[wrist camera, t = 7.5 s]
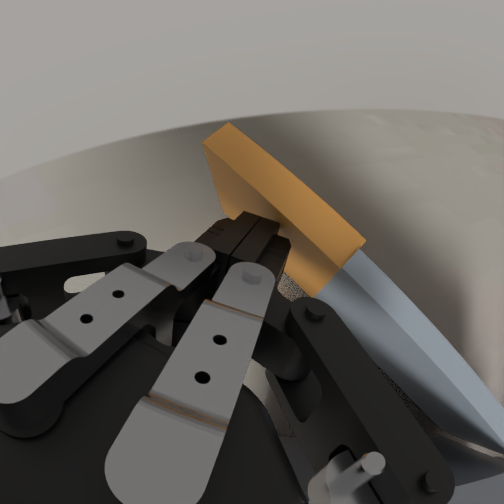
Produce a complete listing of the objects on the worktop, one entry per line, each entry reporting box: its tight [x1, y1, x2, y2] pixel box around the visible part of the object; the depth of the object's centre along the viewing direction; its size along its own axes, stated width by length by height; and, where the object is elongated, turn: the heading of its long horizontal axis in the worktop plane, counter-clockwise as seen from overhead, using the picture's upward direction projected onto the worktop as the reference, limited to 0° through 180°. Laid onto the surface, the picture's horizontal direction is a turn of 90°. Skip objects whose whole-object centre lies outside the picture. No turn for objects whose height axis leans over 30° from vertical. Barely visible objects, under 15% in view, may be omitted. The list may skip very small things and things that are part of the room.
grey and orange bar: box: [202, 122, 504, 454], centre depth 13 cm, size 19×2×7 cm, turn 44°
